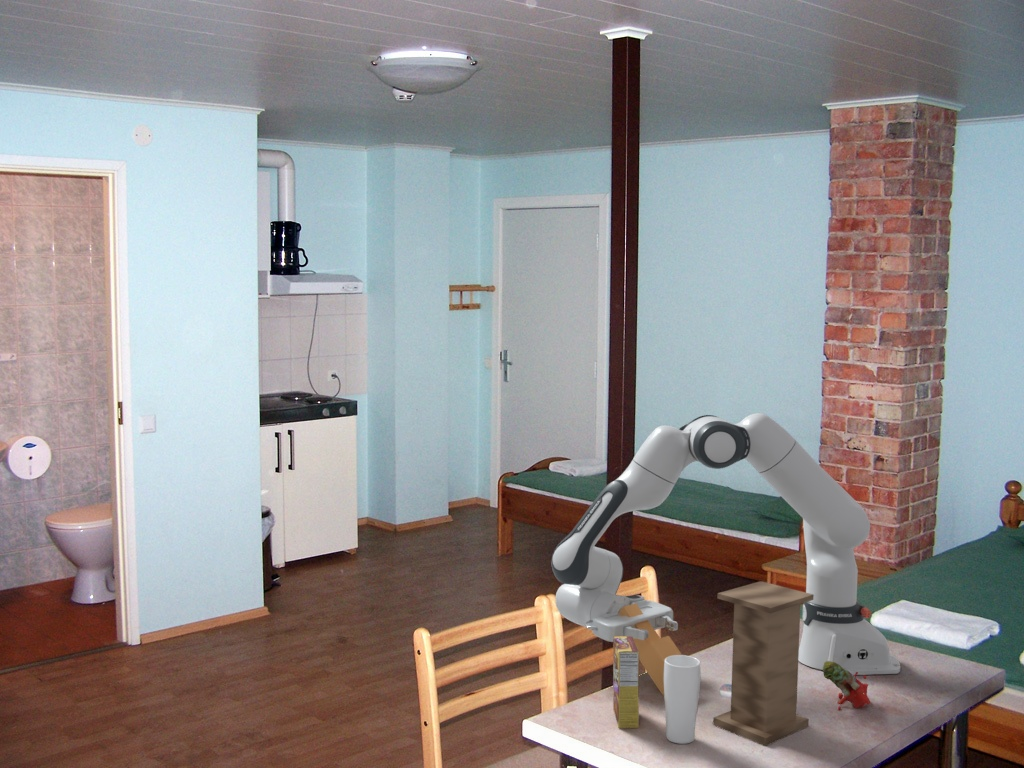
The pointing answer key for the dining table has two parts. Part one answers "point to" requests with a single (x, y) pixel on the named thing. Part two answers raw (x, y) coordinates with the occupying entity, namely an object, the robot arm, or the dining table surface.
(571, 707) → the dining table surface
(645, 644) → the stepped block
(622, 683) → the candy box
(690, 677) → the drinking glass
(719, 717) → the pedestal
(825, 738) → the dining table surface
